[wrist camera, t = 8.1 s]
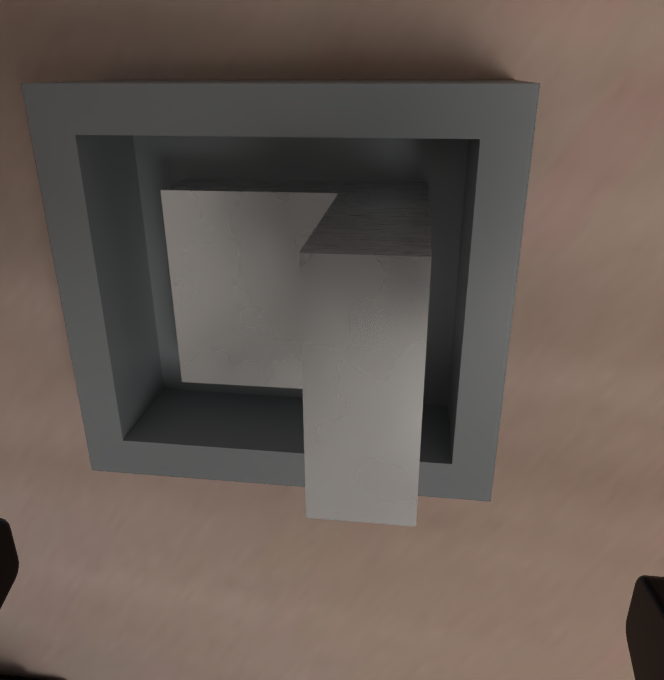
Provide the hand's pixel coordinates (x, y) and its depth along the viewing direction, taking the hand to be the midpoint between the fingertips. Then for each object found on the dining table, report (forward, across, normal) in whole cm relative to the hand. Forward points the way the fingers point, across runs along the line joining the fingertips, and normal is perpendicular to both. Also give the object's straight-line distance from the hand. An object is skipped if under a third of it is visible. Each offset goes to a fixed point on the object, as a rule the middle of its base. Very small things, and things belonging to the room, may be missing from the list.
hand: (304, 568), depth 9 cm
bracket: (+12, +2, 0) cm, 12 cm away
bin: (+13, +2, 0) cm, 13 cm away
